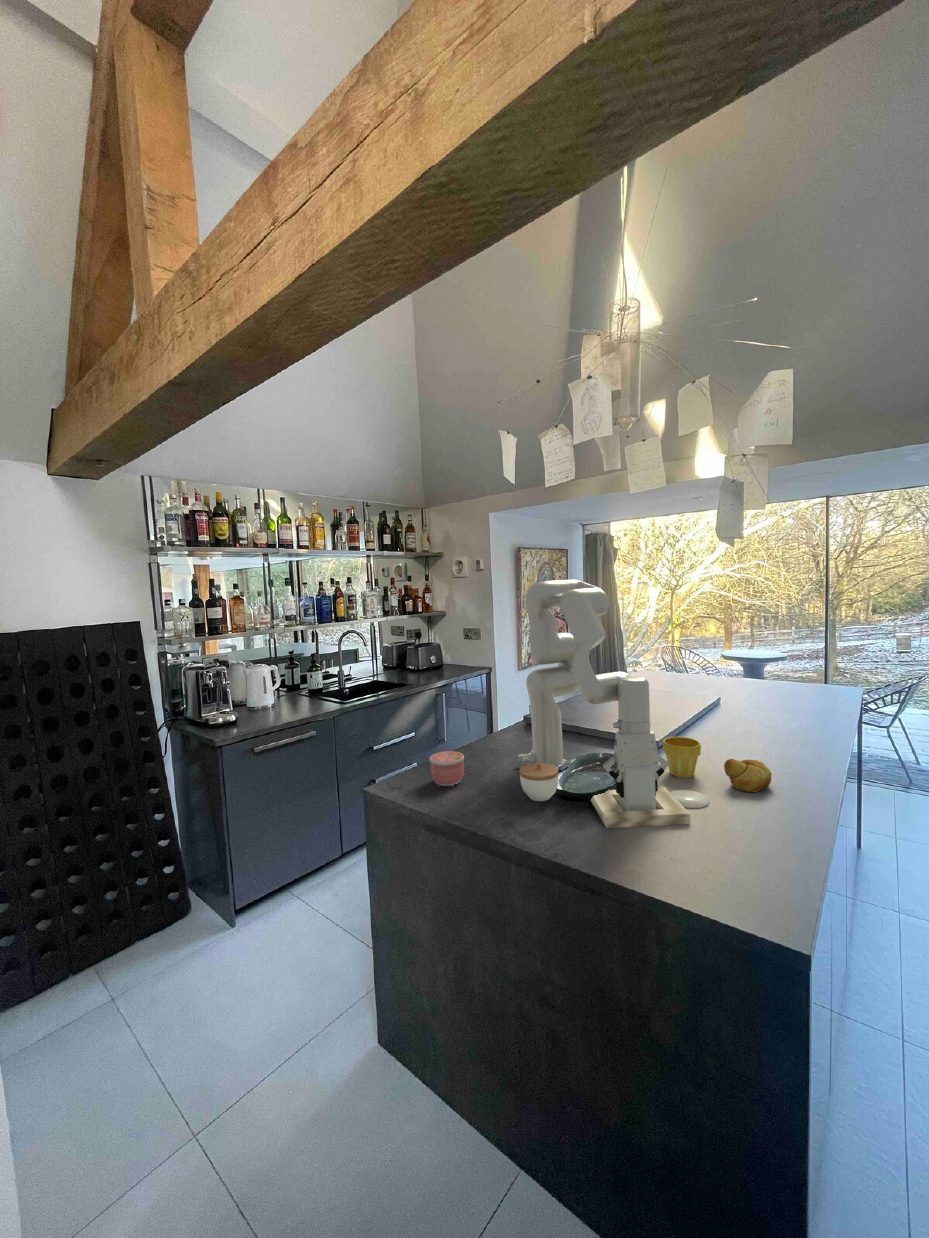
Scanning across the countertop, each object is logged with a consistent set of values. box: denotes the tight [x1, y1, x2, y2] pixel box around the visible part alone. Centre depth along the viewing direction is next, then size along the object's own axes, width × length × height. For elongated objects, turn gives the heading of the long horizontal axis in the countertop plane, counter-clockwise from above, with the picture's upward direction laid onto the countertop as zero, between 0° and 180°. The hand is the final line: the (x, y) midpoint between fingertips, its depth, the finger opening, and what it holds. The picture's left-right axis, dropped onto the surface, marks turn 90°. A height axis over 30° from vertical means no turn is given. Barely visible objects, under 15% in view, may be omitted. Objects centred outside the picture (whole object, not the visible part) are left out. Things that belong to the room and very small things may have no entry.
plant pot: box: [662, 736, 702, 779], centre depth 153 cm, size 10×10×10 cm
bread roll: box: [723, 758, 772, 793], centre depth 142 cm, size 13×10×8 cm
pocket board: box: [590, 786, 691, 829], centre depth 131 cm, size 20×16×2 cm
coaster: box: [669, 789, 710, 809], centre depth 136 cm, size 10×10×1 cm
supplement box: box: [618, 766, 656, 811], centre depth 130 cm, size 7×7×13 cm
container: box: [429, 750, 465, 785], centre depth 157 cm, size 10×10×8 cm
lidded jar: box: [518, 763, 559, 802], centre depth 142 cm, size 11×11×9 cm
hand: (636, 794), depth 130 cm, fingers closed on supplement box, 7 cm apart
